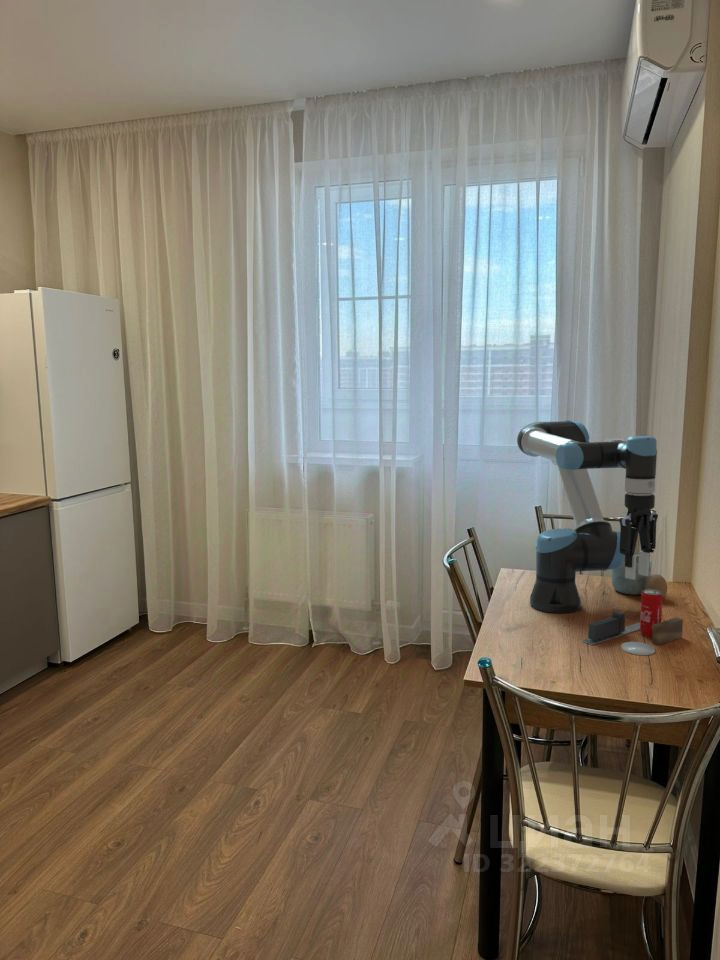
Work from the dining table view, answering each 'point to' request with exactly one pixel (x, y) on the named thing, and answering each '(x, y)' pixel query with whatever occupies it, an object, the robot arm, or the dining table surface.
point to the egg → (657, 584)
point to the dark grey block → (607, 626)
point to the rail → (627, 630)
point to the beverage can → (650, 611)
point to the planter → (628, 584)
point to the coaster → (638, 648)
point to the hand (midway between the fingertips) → (636, 576)
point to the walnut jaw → (667, 631)
